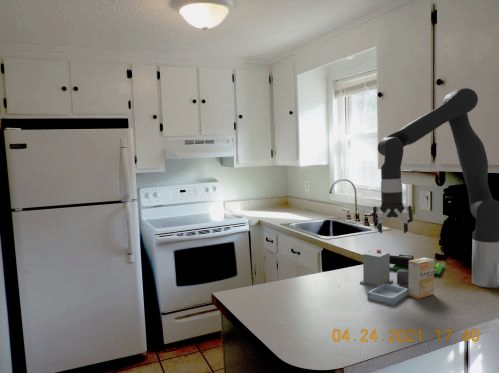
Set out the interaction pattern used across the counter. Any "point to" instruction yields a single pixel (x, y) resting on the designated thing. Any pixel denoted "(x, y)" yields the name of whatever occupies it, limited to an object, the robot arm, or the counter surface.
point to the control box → (376, 268)
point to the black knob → (402, 277)
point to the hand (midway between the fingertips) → (392, 232)
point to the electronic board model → (403, 263)
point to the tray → (387, 294)
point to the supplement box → (421, 277)
